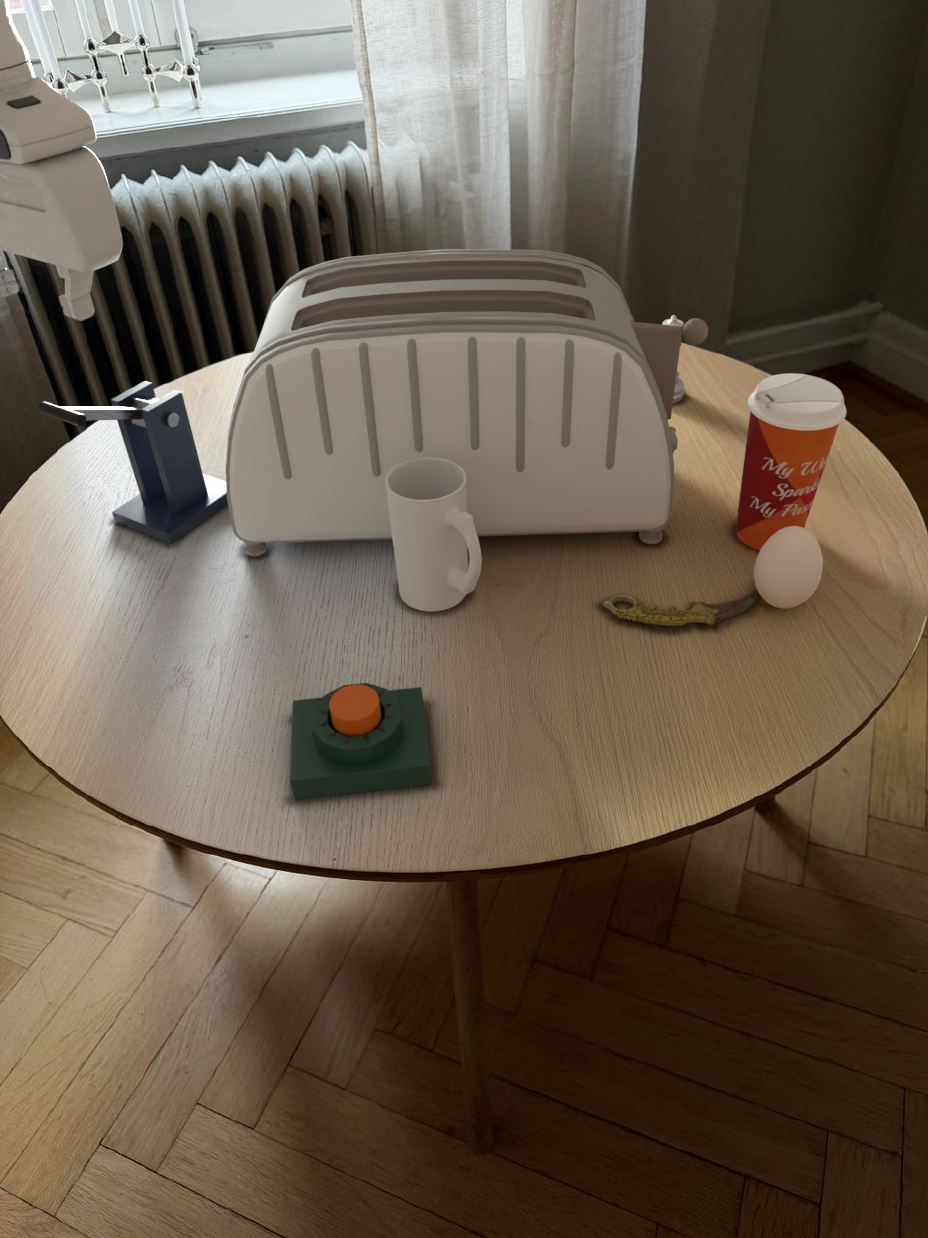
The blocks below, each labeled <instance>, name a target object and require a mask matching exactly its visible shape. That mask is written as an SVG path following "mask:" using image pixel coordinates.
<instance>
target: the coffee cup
mask: <svg viewBox="0 0 928 1238" xmlns="http://www.w3.org/2000/svg"><path fill="white" fill-rule="evenodd" d="M747 407H748V410H749V411H750V412H749V419H748V428H747V435H746V443H745V451H744V458H743V465H742V473H741V474H742V475H741V483H740V489H739V498H738V505H737V518H736V530H735V532H736V536H737V537H738V539H739V540H740V541H741V542H742V543H743V544H745V545H746V546H748V547H749V548H752V549H754V550H757V551H760V550H761V548H762V546H763V545H764V544H765V543H766V542H767V540H768V539H769V538H770V537H771V536H772V535H773V534H775V533H776V532H777V531H779V530H780V529H783V528H785V527H790V526H799V527H803V528H805V527H806V524H807V521H808V518H809V514H810V512H811V510H812V506H813V503H814V500H815V496H816V494H817V491H818V488H819V485H820V482H821V479H822V475H823V473H824V469H825V467H826V464H827V461H828V458H829V455H830V452H831V449H832V446H833V444H834V441H835V437H836V434H837V431H838V428H839V424H840V423H842V422H843V421H844V420H845V418H846V416H847V407H846V405H845V398H844V395H843V393H842V390H841V389H840V388H839V387H838V386H836V385H835V384H833V383H832V382H831V381H828V380H826V379H823V378H821V377H818V376H814V375H809V374H805V373H793V372H792V373H779V374H774V375H770V376H767V377H766V378H763V379H762V380H761V381H760V382H758V384H756V387H755V389H754V391H753V392H751V394H750V395H749V397H748V399H747Z"/></svg>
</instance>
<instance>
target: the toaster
mask: <svg viewBox="0 0 928 1238" xmlns="http://www.w3.org/2000/svg"><path fill="white" fill-rule="evenodd" d="M708 335H709V326H708V325H707V322H705V321H704V320H703V319H701V318H698V317H694V318H690V319H689V320H688V321H686V323H684V325H683V327H681V326H671V325H663V324H659V323H650V322H640V321H639V322H638V321H635V319H634V317H633V315H632V312H631V310H630V307H629V305H628V303H627V300H626V298H625V296H624V293H623V291H622V289H621V287H620V285H619V284H618V283H617V281H616V280H614V279H613V278H612V276H611V275H609V273H607V272H606V271H605V270H604V268H603V267H601V266H599V265H598V264H595V263H594V262H593V261H589V260H588V259H586V258H583V257H579V256H575V255H571V254H567V253H565V252H564V253H563V252H558V251H557V252H556V251H549V250H543V249H496V248H495V249H494V248H492V249H490V248H489V249H488V248H487V249H485V248H483V249H481V248H478V249H477V248H440V249H427V250H415V251H403V252H401V251H400V252H388V253H379V254H367V255H366V254H365V255H356V256H347V257H341V258H337V259H332V260H328V261H323V262H321V263H318V264H315V265H312V266H309V267H306V268H304V269H302V270H301V271H299V272H297V273H296V274H294V275H293V276H291V277H289V278H288V279H287V280H286V281H285V283H284V284H283V285H282V286H281V288H280V289H279V290H278V291H277V292H276V293H275V294H274V296H273V297H272V298H271V301H270V304H269V307H268V310H267V314H266V316H265V319H264V323H263V326H262V329H261V332H260V333H259V337H258V340H257V342H256V345H255V348H254V351H253V353H252V356H251V358H250V361H249V363H248V364H247V365H246V366H245V368H244V371H243V375H242V376H241V380H240V383H239V387H238V390H237V393H236V396H235V398H234V403H233V406H232V411H231V417H230V422H229V426H228V431H227V432H228V434H227V444H226V445H227V446H226V459H225V481H226V490H227V501H228V503H227V506H228V513H229V519H230V523H231V524H230V525H231V527H232V531H233V534H234V535H235V537H236V538H238V540H239V541H242V542H243V543H244V544H245V545H244V547H243V550H244V552H245V554H246V555H247V556H250V557H259V556H262V555H264V554H265V553H266V552H267V550H268V543H269V544H270V543H271V544H272V543H273V544H274V543H305V542H306V543H307V542H308V543H309V542H338V541H339V542H340V541H366V540H367V541H369V540H393V539H392V531H391V524H390V516H389V508H388V500H387V490H386V484H385V479H386V476H387V474H388V472H389V471H390V470H391V469H392V468H393V467H395V466H396V465H398V464H400V463H402V462H404V461H407V460H411V459H415V458H423V457H434V458H442V459H446V460H449V461H452V462H454V463H456V464H458V465H459V466H460V467H461V468H462V469H463V470H464V471H465V473H466V487H467V513H468V514H470V515H472V516H473V522H474V526H475V529H476V533H477V536H478V537H499V536H500V537H502V536H503V537H504V536H530V535H533V536H534V535H563V534H564V535H566V534H596V533H597V534H598V533H600V534H601V533H628V532H629V533H633V532H635V533H636V532H639V533H638V535H639V537H638V538H639V539H640V541H641V542H642V543H644V544H648V545H657V544H659V543H660V542H661V541H662V540H663V532H662V530H663V529H664V528H666V527H667V526H668V524H670V522H671V521H672V516H673V511H674V510H673V508H674V497H675V496H674V493H675V465H674V453H675V451H676V450H677V449H678V445H679V444H678V442H679V441H678V437H677V433H676V432H677V430H676V428H675V427H674V426H670V425H669V420H671V419H672V413H673V406H674V403H673V398H674V390H675V383H676V375H677V371H678V366H679V358H680V350H681V346H680V343H681V344H682V338H683V341H685V342H686V343H687V344H688V345H690V346H697V345H700V344H702V343H703V342H704V341H705V340H706V339H707V337H708Z"/></svg>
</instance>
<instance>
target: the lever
mask: <svg viewBox="0 0 928 1238" xmlns="http://www.w3.org/2000/svg"><path fill="white" fill-rule="evenodd" d="M158 399H159V398H157V397H156V398H133V403H132V407H113V406H59V405H57V404H53V403H51V402H48V401H40V403H38V406H37V411H38V412H39V413H40V414H42V415H44V416H48V417H51V418H53V419H57V420H60V421H62V422H66V423H68V424H70V425H73V426H77V427H80V428H83V427H84V426H86V425H87V421H117V420H131V423H133V424H136V425H139V426H142V427H145V428H146V425H145V422H144V419H143V415H142V412H141V409H143V408H144V407H146V406H148V405H150V404H151V403H153V402H155V401H157V400H158Z"/></svg>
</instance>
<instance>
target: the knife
mask: <svg viewBox="0 0 928 1238" xmlns="http://www.w3.org/2000/svg"><path fill="white" fill-rule="evenodd" d="M759 596H760V594H759V592H758V591H757V588H756V587H755V588H754V589H753V590H752V591H751V592H750V593H748V594H746V595H745V596H743V597H741V598H738V599H734V600H732V601H727V602H720V603H704V602H703V601H701V600H696V599H695V600H694V601H693V603H692V607H691V608H689V609H686V610H680V609H678V608H677V607H675V606H672V607H671V608H666V609H664V608H660V607H658V606H657V605H652V606H651V605H650V606H644V605H641V603H640V602H638V600H637V599H635V598H634V597H632V596H631V595H626V594H625V595H624V594H618V595H614V596H612V597H611V598H610V599H608V600H604V601H603V602H602V606H603V607H604V608H606V609H607V610H608V611H610V612H612V614H614V615H615V616H616V617H617V618H618V619H623V620H627V621H631V620H632V622H637V623H640V622H641V623H642V624H648V625H656V626H668V627H682V626H684V625H686V624H691V623H703V624H707V625H709V626H710V625H715V623H718V622H721V621H722V620H723V619H727V618H731V617H734V616H737V615H739V614H741V613H743V612H745V611H746V610H748V609H749V608H751V607H752V606H753V605H754V604H755V603H756V601H757V600H758V598H759ZM617 602H627V603H630V604H632V606H631V607H629V608H625V609H621V608H617V607H615V606H614V603H617Z"/></svg>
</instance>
